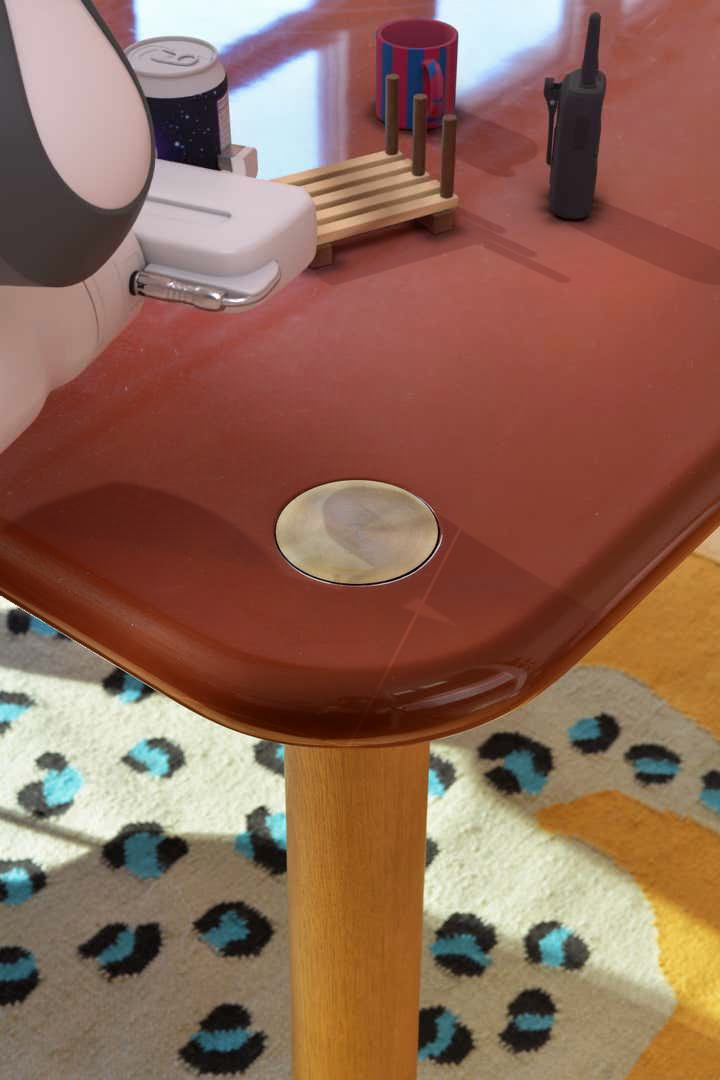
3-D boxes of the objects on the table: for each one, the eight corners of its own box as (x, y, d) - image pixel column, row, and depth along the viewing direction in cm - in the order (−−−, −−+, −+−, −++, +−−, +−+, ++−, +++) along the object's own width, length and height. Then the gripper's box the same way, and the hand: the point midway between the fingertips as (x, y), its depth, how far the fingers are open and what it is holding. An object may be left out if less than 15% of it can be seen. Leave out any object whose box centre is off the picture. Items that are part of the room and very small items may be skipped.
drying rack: (303, 271, 96) (299, 161, 90) (242, 212, 102) (235, 106, 97) (460, 227, 100) (466, 120, 95) (392, 173, 107) (394, 69, 101)
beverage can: (167, 231, 79) (146, 26, 72) (255, 249, 78) (244, 41, 70) (119, 278, 75) (91, 66, 68) (211, 298, 74) (194, 83, 66)
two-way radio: (590, 226, 100) (615, 22, 90) (530, 221, 101) (548, 18, 91) (594, 191, 104) (618, -7, 94) (536, 186, 105) (554, -11, 95)
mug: (448, 95, 118) (451, 16, 113) (467, 146, 110) (471, 63, 106) (371, 98, 117) (371, 19, 113) (385, 150, 110) (386, 67, 105)
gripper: (244, 252, 58) (365, 123, 68) (-147, 168, 64) (16, 60, 74) (252, 374, 63) (365, 236, 72) (-116, 285, 68) (34, 168, 78)
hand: (186, 146), depth 73 cm, fingers closed on beverage can, 5 cm apart
